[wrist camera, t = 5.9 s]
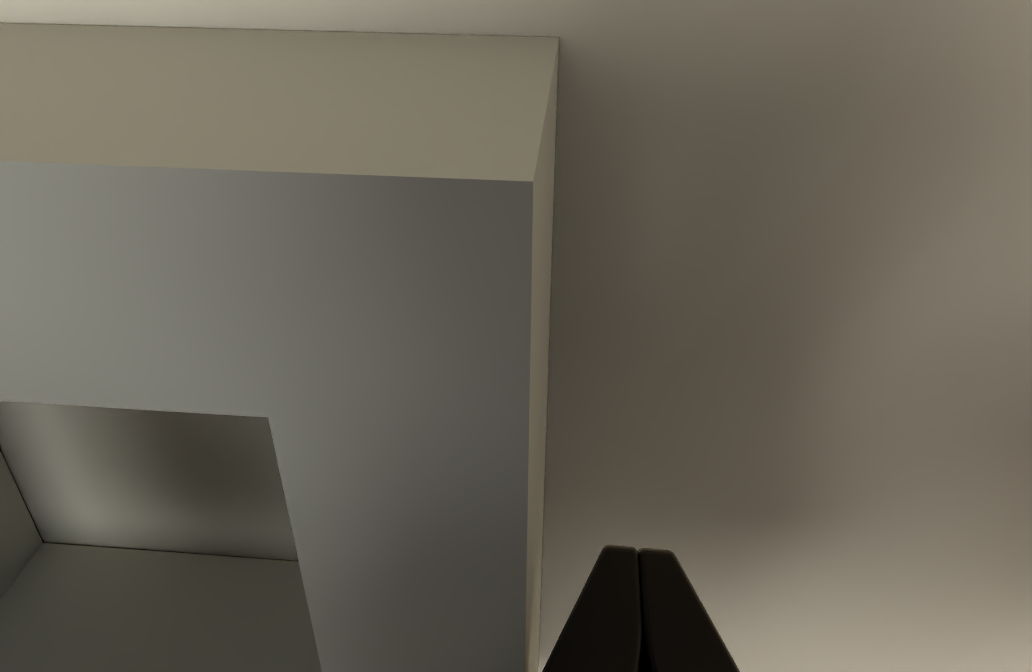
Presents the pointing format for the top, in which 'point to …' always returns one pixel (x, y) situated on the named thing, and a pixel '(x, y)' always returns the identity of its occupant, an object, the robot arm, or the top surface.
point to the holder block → (288, 333)
